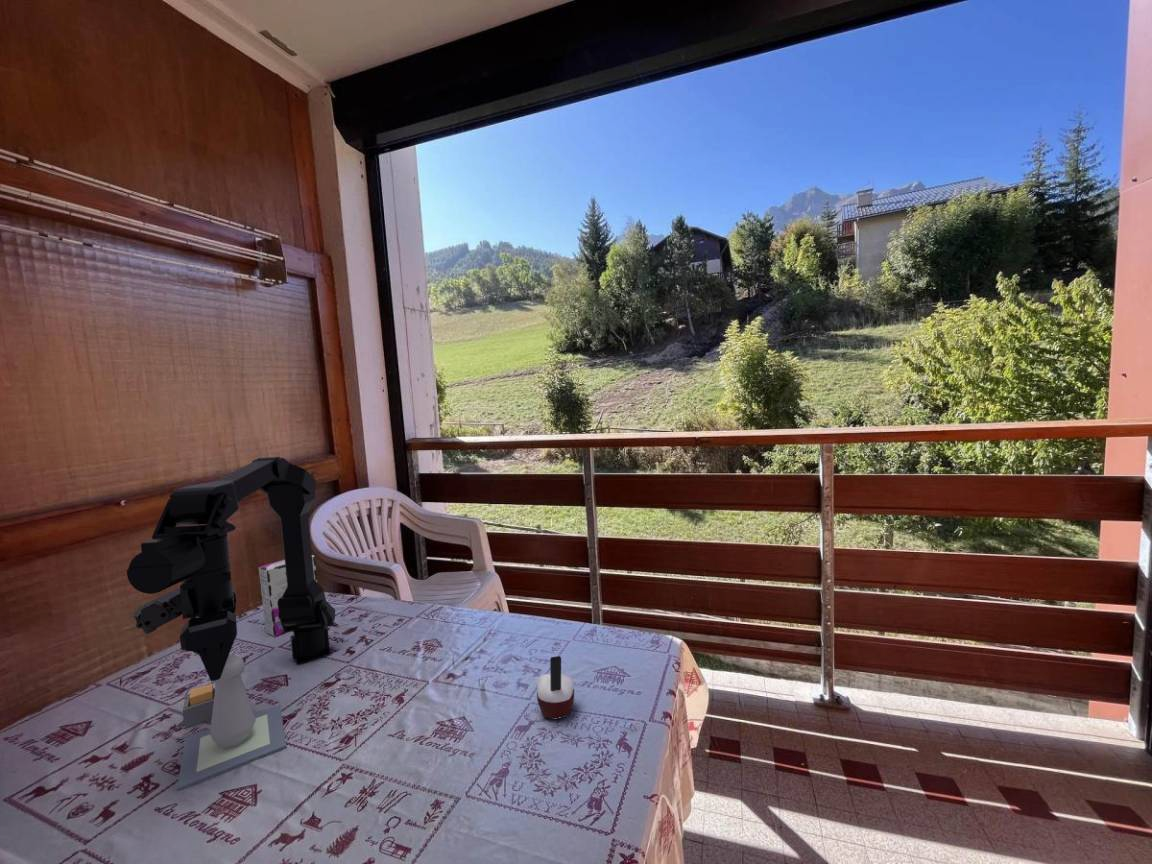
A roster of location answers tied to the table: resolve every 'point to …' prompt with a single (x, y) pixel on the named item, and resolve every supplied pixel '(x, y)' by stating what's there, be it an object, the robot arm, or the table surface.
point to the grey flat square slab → (230, 749)
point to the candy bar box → (274, 593)
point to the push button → (201, 694)
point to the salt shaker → (231, 707)
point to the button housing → (197, 712)
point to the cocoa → (555, 691)
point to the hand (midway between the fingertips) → (216, 666)
